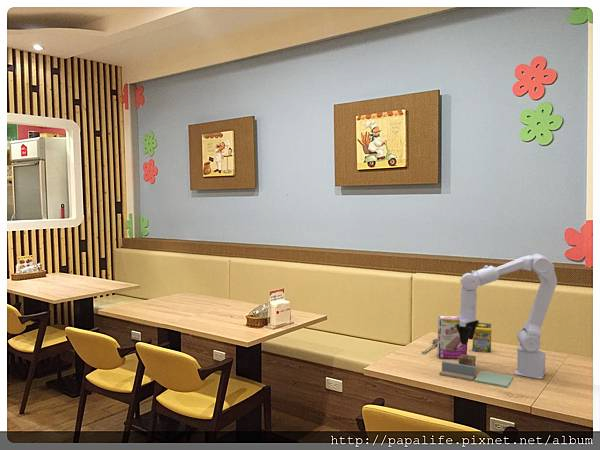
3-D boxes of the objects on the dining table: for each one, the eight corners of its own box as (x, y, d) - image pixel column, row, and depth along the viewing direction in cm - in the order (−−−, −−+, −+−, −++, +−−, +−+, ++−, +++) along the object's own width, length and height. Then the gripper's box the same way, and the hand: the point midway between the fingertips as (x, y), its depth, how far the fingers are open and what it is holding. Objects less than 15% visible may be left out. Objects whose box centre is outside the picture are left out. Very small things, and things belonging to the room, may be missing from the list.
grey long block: (475, 377, 194) (476, 366, 194) (472, 381, 190) (473, 370, 190) (442, 371, 200) (443, 360, 200) (439, 374, 197) (439, 364, 196)
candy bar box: (438, 358, 215) (439, 318, 214) (436, 355, 220) (437, 315, 219) (467, 359, 214) (468, 319, 212) (465, 355, 219) (465, 316, 217)
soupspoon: (450, 345, 237) (436, 343, 240) (450, 337, 237) (436, 336, 240) (430, 356, 219) (415, 354, 223) (430, 348, 219) (415, 346, 223)
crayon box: (472, 351, 225) (473, 323, 224) (472, 349, 228) (473, 322, 227) (490, 352, 223) (491, 325, 222) (490, 350, 225) (491, 323, 225)
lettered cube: (475, 369, 203) (475, 355, 203) (471, 373, 199) (472, 359, 198) (462, 366, 206) (462, 353, 205) (458, 370, 201) (458, 357, 201)
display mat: (513, 377, 193) (513, 376, 193) (507, 387, 184) (507, 385, 184) (481, 372, 199) (482, 370, 199) (474, 381, 190) (474, 379, 190)
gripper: (462, 300, 209) (461, 335, 210) (451, 307, 197) (450, 344, 198) (481, 303, 205) (480, 338, 206) (471, 310, 193) (469, 347, 194)
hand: (466, 341), depth 202 cm, fingers open, 7 cm apart
